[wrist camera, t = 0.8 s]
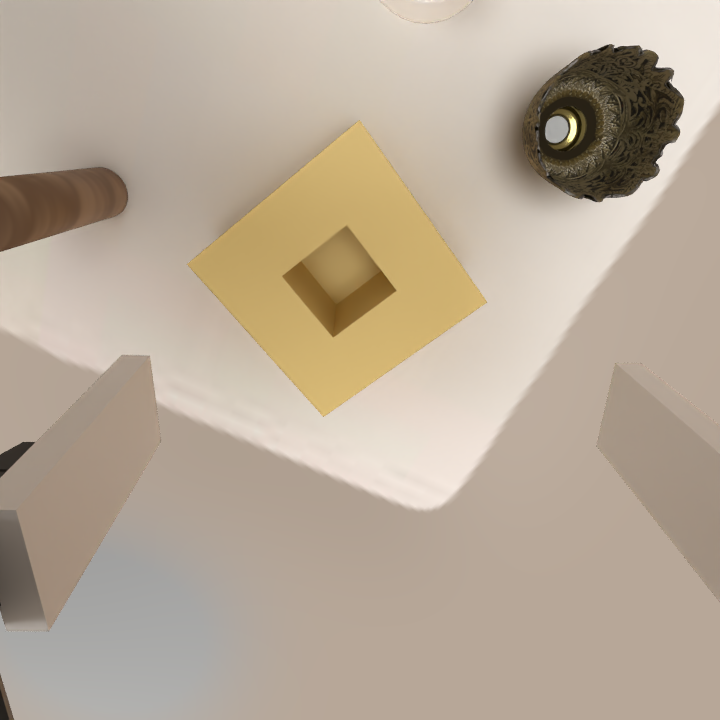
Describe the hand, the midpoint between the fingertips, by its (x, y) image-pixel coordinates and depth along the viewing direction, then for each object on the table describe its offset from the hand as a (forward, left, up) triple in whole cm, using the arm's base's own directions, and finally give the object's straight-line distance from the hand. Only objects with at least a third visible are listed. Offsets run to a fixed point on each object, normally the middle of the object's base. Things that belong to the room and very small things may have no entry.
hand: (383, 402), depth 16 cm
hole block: (-1, -2, -24) cm, 24 cm away
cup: (+1, +14, -24) cm, 28 cm away
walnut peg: (-14, -12, -24) cm, 30 cm away
